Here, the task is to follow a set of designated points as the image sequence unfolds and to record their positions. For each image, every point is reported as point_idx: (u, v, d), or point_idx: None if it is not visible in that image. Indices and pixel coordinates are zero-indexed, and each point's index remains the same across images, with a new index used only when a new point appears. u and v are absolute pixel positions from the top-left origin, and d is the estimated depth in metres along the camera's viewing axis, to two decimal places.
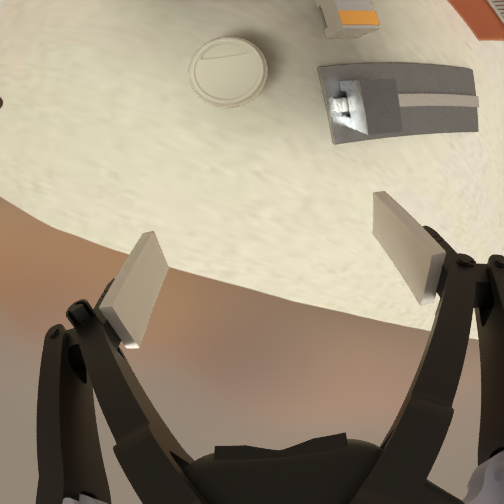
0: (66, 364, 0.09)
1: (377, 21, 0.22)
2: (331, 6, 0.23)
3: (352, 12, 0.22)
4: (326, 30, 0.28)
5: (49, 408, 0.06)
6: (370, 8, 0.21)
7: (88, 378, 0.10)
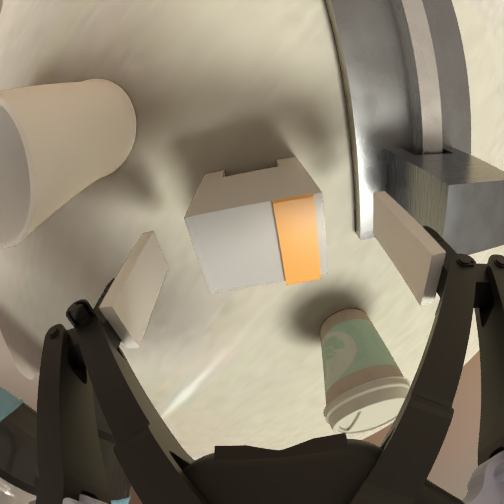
0: (66, 364, 0.09)
1: (305, 201, 0.13)
2: None
3: (288, 259, 0.15)
4: None
5: (49, 408, 0.06)
6: (265, 211, 0.14)
7: (88, 378, 0.10)
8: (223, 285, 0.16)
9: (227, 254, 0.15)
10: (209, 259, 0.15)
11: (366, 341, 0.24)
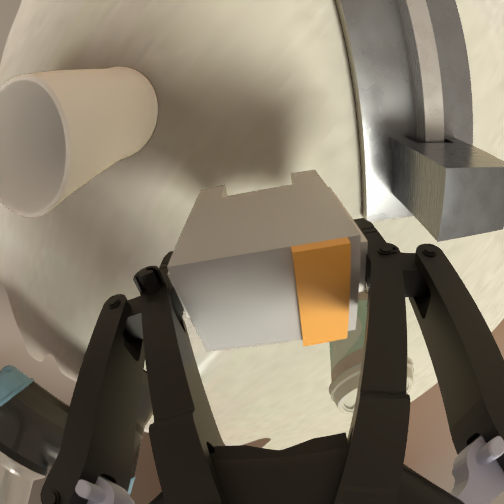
0: (120, 340, 0.09)
1: (338, 249, 0.09)
2: None
3: (308, 319, 0.11)
4: None
5: (90, 384, 0.07)
6: (281, 260, 0.10)
7: (141, 355, 0.11)
8: (222, 344, 0.12)
9: (227, 311, 0.11)
10: (204, 316, 0.11)
11: None
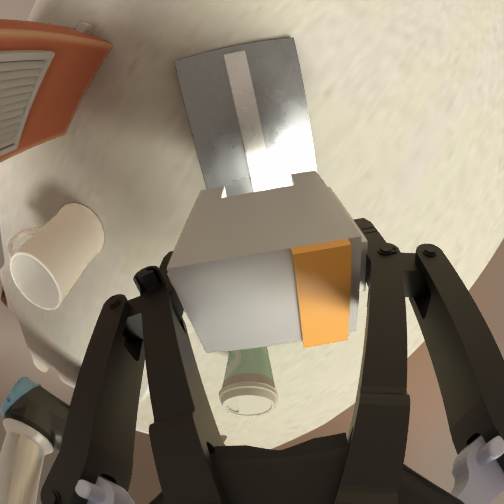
0: (120, 340, 0.09)
1: (338, 251, 0.09)
2: None
3: (308, 321, 0.11)
4: None
5: (90, 384, 0.07)
6: (280, 261, 0.10)
7: (141, 355, 0.11)
8: (222, 346, 0.12)
9: (227, 313, 0.11)
10: (204, 318, 0.11)
11: (248, 357, 0.39)
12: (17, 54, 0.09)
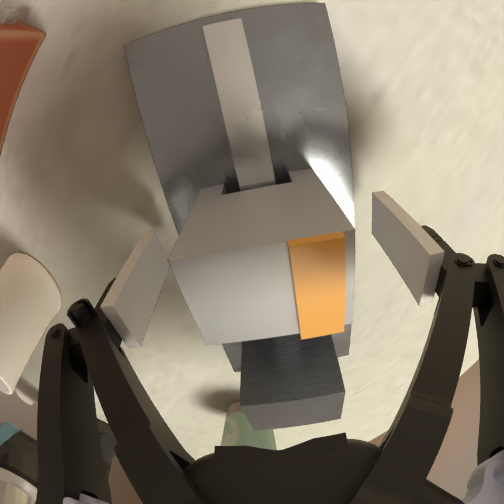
0: (67, 364, 0.09)
1: (333, 243, 0.09)
2: None
3: (305, 312, 0.11)
4: None
5: (50, 407, 0.06)
6: (278, 253, 0.10)
7: (89, 377, 0.10)
8: (222, 338, 0.13)
9: (227, 304, 0.11)
10: (204, 309, 0.12)
11: (248, 433, 0.29)
12: None
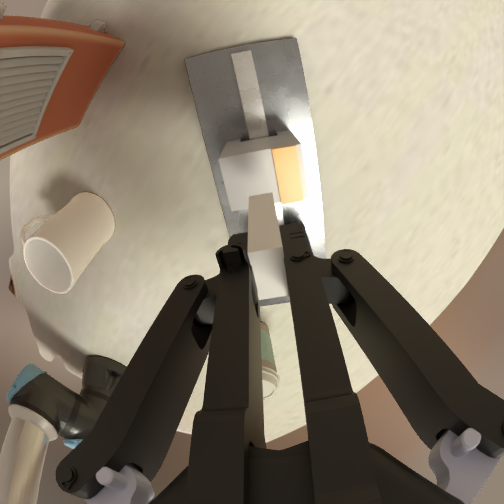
0: (188, 326, 0.10)
1: (291, 148, 0.22)
2: None
3: (281, 185, 0.23)
4: None
5: (144, 370, 0.08)
6: (267, 154, 0.22)
7: (208, 343, 0.11)
8: (240, 205, 0.25)
9: (244, 182, 0.24)
10: (232, 186, 0.24)
11: None
12: (39, 50, 0.11)
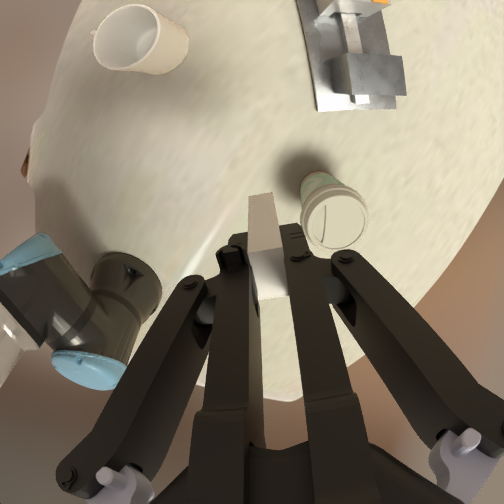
0: (188, 326, 0.10)
1: None
2: (357, 4, 0.20)
3: None
4: (362, 14, 0.24)
5: (144, 369, 0.08)
6: None
7: (208, 343, 0.11)
8: None
9: None
10: None
11: (329, 178, 0.35)
12: None
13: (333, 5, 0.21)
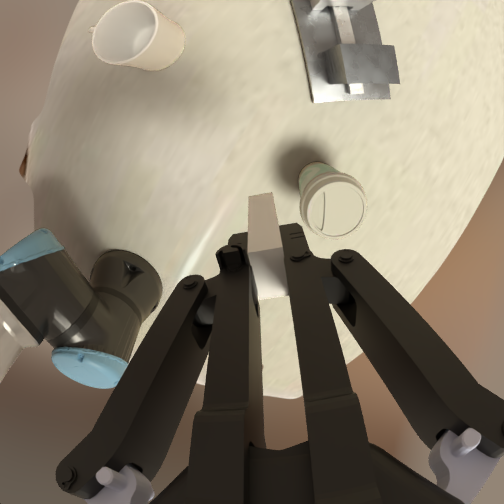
0: (188, 326, 0.10)
1: None
2: None
3: None
4: (354, 8, 0.25)
5: (144, 369, 0.08)
6: None
7: (208, 343, 0.11)
8: None
9: None
10: None
11: (327, 167, 0.35)
12: None
13: None
